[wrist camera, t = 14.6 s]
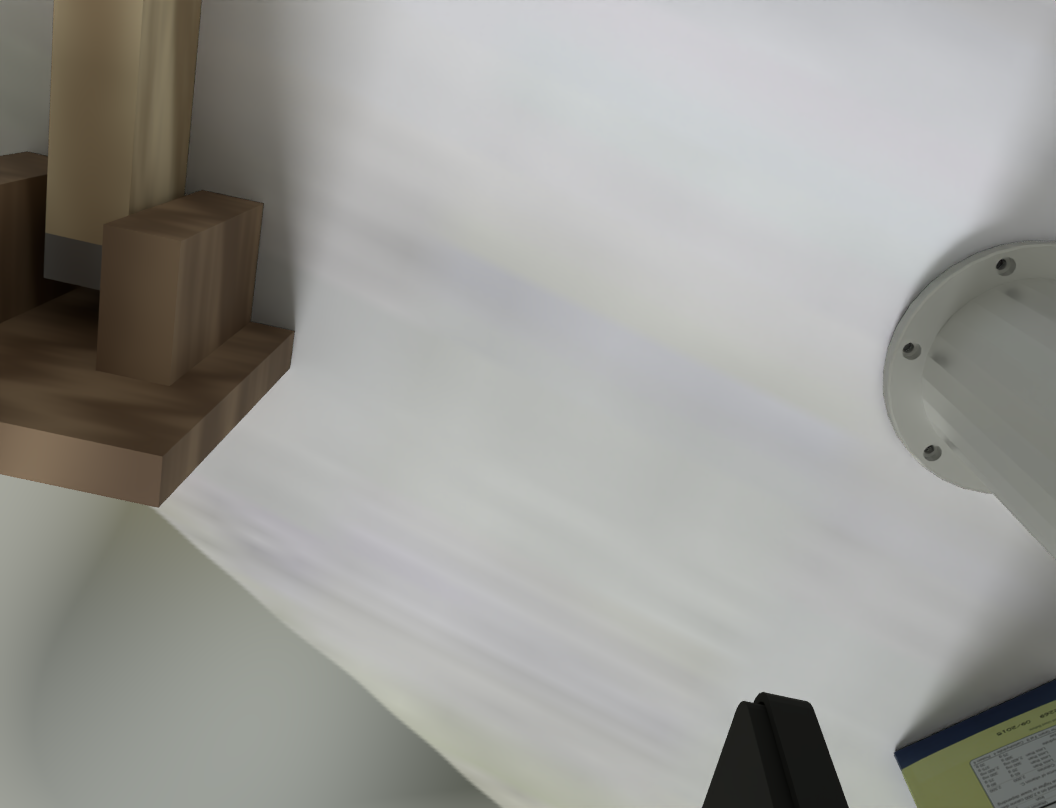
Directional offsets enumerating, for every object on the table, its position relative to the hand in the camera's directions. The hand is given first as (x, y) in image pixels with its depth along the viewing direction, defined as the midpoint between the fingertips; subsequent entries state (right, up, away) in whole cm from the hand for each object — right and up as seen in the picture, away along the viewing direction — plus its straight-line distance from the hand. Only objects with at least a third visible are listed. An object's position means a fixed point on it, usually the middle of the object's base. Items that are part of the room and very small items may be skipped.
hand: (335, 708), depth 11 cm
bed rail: (-14, +21, +32) cm, 41 cm away
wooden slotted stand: (-17, +11, +36) cm, 41 cm away
